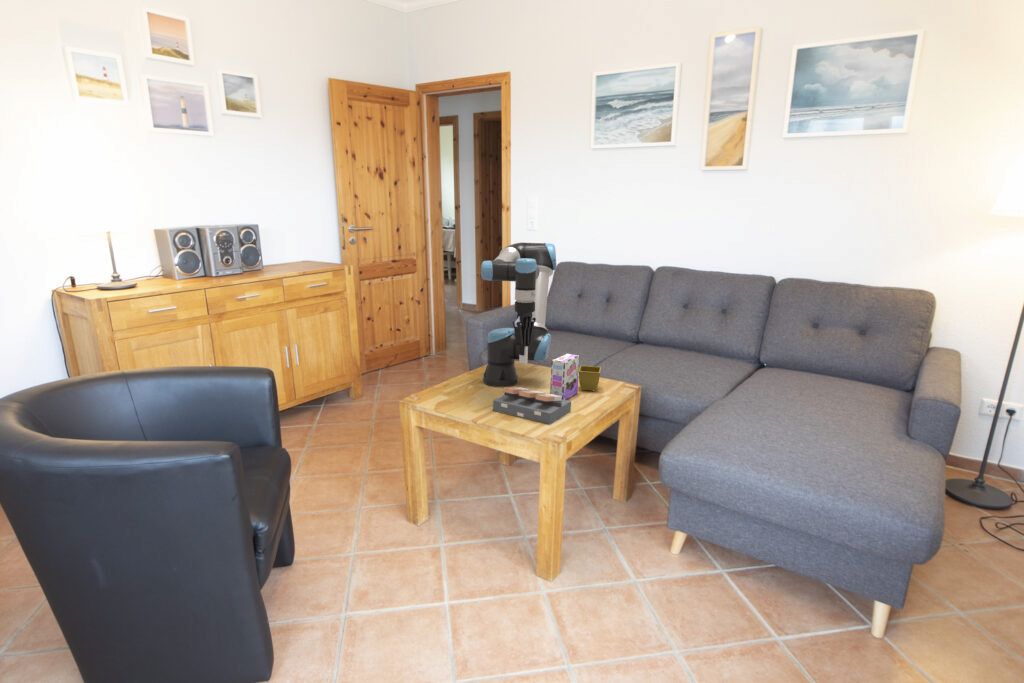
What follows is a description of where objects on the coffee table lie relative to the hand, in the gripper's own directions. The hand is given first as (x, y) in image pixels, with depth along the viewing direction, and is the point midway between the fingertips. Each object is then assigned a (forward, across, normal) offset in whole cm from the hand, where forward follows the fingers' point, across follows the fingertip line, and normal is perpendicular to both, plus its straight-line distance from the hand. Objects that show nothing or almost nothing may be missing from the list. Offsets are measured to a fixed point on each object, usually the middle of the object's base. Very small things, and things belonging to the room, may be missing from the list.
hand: (523, 363), depth 210 cm
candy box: (+17, +18, -9) cm, 26 cm away
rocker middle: (+10, -4, -7) cm, 13 cm away
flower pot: (+17, +33, -13) cm, 39 cm away
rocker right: (+10, -4, -14) cm, 17 cm away
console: (+17, -4, -7) cm, 18 cm away
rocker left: (+10, -4, 0) cm, 11 cm away
